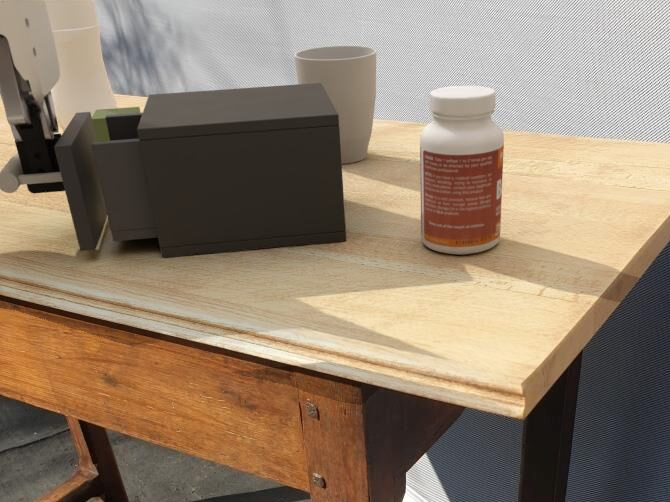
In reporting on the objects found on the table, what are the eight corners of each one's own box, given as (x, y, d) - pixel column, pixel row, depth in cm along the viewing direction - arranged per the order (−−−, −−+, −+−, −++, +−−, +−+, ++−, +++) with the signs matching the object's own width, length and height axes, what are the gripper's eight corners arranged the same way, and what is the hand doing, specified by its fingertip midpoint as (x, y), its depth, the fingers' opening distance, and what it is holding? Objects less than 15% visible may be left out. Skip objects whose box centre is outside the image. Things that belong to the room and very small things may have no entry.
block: (100, 164, 88) (90, 119, 86) (105, 153, 92) (95, 109, 90) (144, 161, 89) (136, 115, 86) (147, 150, 93) (139, 106, 90)
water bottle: (50, 136, 100) (-14, -118, 86) (105, 125, 104) (52, -120, 90) (76, 145, 96) (13, -121, 81) (132, 133, 99) (82, -123, 85)
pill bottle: (512, 250, 64) (520, 95, 57) (436, 261, 62) (436, 103, 56) (482, 225, 69) (487, 79, 62) (411, 235, 67) (408, 87, 61)
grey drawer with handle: (7, 257, 64) (-25, 152, 59) (34, 211, 73) (8, 117, 68) (255, 235, 66) (242, 132, 61) (250, 193, 75) (238, 101, 71)
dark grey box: (161, 258, 65) (136, 128, 60) (169, 208, 75) (148, 94, 70) (346, 241, 67) (338, 114, 61) (329, 195, 77) (321, 82, 71)
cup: (394, 152, 88) (392, 48, 83) (350, 172, 83) (344, 61, 77) (333, 144, 92) (326, 44, 86) (287, 162, 87) (277, 56, 81)
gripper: (-50, -85, 62) (20, 168, 72) (-113, -79, 50) (-18, 223, 60) (54, -89, 63) (108, 161, 73) (17, -85, 51) (88, 214, 61)
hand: (51, 188), depth 67 cm, fingers closed
